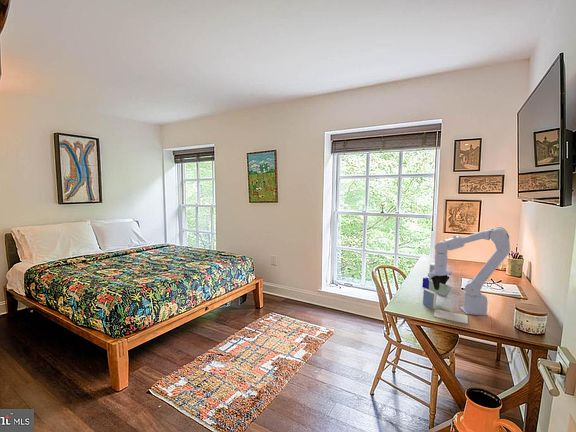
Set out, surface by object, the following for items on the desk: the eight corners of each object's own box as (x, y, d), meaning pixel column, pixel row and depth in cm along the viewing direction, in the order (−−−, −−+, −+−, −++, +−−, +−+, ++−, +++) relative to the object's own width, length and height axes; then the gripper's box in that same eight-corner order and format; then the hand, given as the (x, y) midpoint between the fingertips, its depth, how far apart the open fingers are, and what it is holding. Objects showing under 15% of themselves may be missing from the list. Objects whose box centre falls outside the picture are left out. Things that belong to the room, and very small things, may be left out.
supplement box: (431, 280, 193) (432, 261, 191) (443, 283, 188) (445, 264, 187) (428, 283, 187) (429, 264, 186) (440, 286, 182) (442, 266, 181)
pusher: (448, 295, 151) (449, 285, 150) (443, 295, 150) (444, 286, 149) (432, 288, 160) (433, 279, 159) (428, 289, 159) (429, 280, 158)
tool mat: (467, 316, 140) (467, 315, 140) (467, 324, 132) (468, 323, 132) (434, 309, 147) (434, 309, 147) (433, 316, 139) (433, 315, 139)
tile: (425, 303, 156) (426, 288, 155) (435, 308, 149) (436, 293, 148) (422, 303, 155) (423, 289, 154) (433, 308, 148) (434, 293, 148)
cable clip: (444, 293, 171) (445, 283, 170) (438, 294, 169) (439, 284, 169) (427, 286, 182) (428, 277, 181) (422, 287, 180) (422, 277, 180)
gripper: (444, 261, 159) (443, 285, 160) (423, 263, 154) (422, 288, 156) (456, 264, 152) (454, 289, 154) (434, 266, 148) (432, 292, 149)
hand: (438, 289), depth 154 cm, fingers closed on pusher, 3 cm apart
